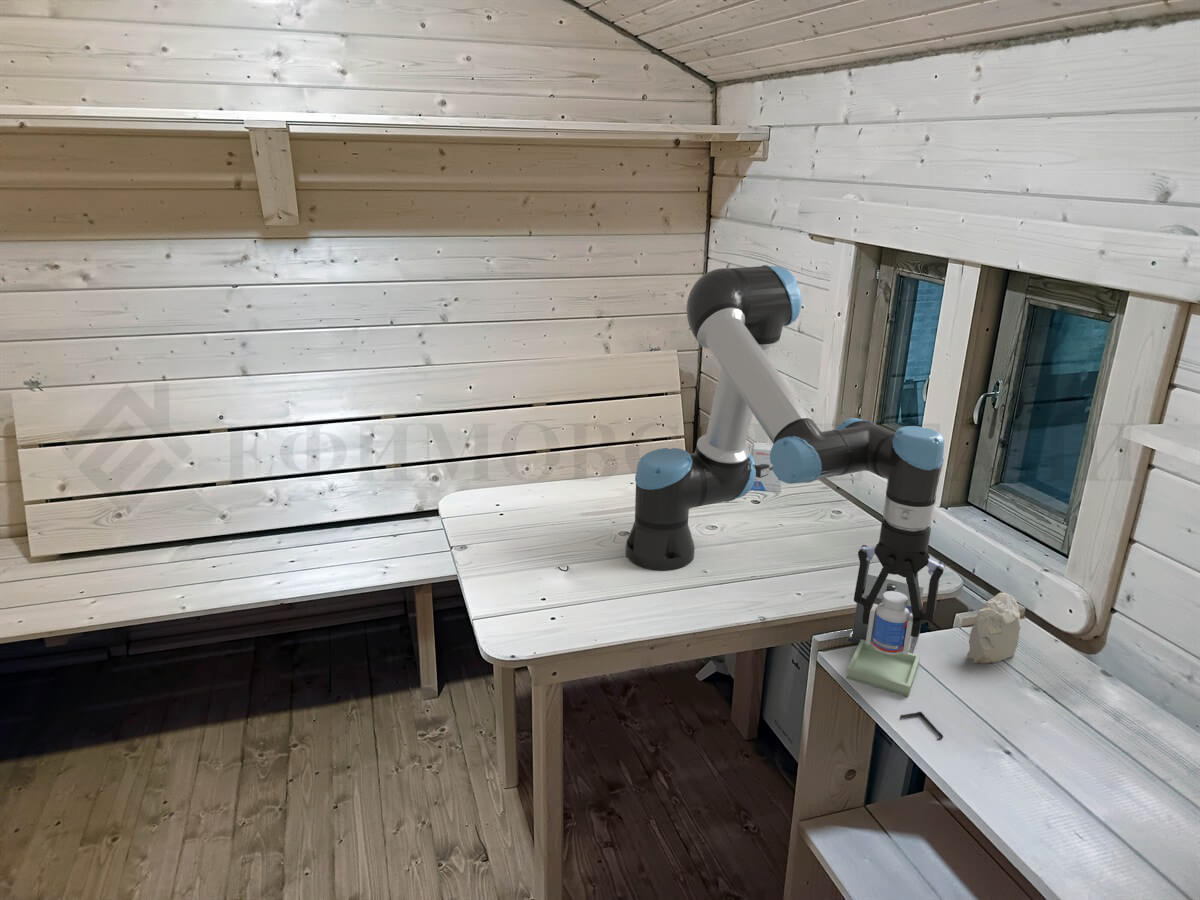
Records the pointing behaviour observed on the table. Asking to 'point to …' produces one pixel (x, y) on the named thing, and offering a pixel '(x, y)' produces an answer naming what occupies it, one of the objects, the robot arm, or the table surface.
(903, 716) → the l-shaped bracket
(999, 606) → the stone
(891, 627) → the pill bottle
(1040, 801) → the table surface
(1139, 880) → the table surface
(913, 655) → the tray
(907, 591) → the unit
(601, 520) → the table surface
